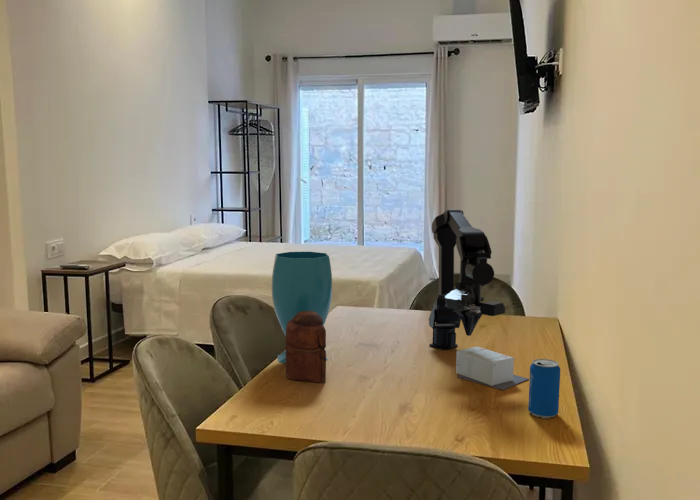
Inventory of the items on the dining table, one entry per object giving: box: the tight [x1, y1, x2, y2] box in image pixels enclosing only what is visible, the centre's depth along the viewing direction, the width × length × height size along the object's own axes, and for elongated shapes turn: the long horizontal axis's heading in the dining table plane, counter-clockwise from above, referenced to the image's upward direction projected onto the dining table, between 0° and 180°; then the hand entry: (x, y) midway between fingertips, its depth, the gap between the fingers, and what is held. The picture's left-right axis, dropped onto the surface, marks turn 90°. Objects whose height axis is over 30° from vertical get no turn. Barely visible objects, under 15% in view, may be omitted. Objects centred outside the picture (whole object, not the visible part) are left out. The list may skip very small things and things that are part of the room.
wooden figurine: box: [285, 311, 327, 384], centre depth 169 cm, size 12×6×18 cm, turn 73°
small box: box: [455, 346, 515, 386], centre depth 171 cm, size 8×6×13 cm
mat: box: [457, 374, 530, 391], centre depth 172 cm, size 14×12×1 cm
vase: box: [271, 251, 333, 365], centre depth 187 cm, size 17×17×30 cm
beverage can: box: [527, 358, 561, 419], centre depth 146 cm, size 6×6×12 cm
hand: (468, 335), depth 176 cm, fingers closed
